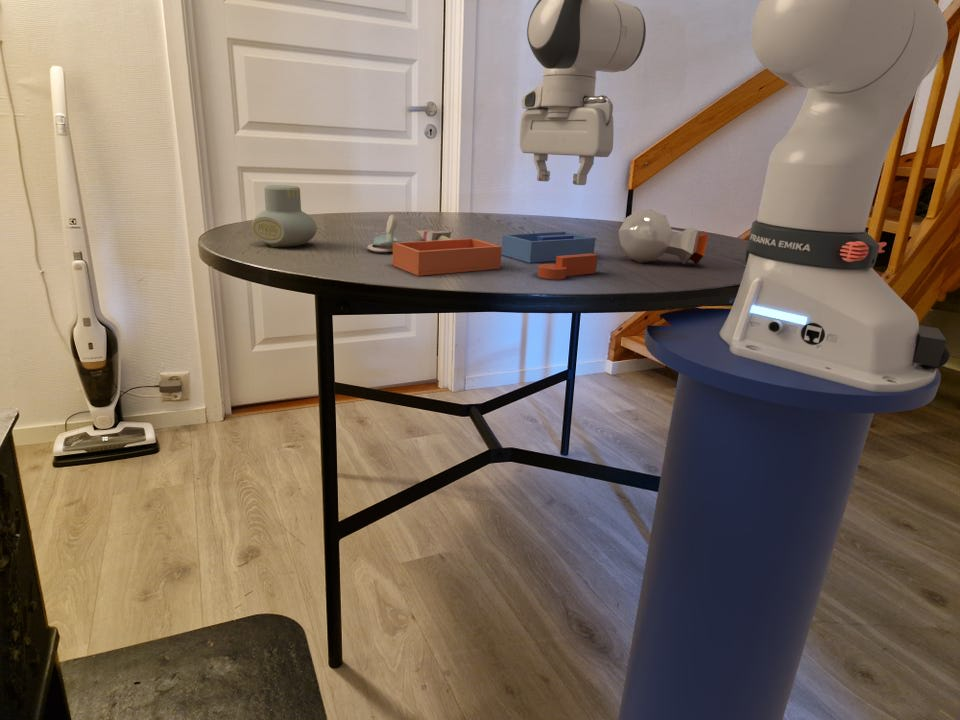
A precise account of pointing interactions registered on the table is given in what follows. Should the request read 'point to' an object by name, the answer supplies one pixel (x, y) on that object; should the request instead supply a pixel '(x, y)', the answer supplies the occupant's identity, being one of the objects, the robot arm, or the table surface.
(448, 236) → the wrapped snack bar
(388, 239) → the pacifier
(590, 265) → the orange stepped block
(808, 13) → the robot arm
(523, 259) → the blue tray
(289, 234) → the air freshener
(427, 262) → the terracotta tray
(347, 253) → the table surface
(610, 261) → the table surface
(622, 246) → the potion bottle
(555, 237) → the blue block with disc
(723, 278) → the table surface
